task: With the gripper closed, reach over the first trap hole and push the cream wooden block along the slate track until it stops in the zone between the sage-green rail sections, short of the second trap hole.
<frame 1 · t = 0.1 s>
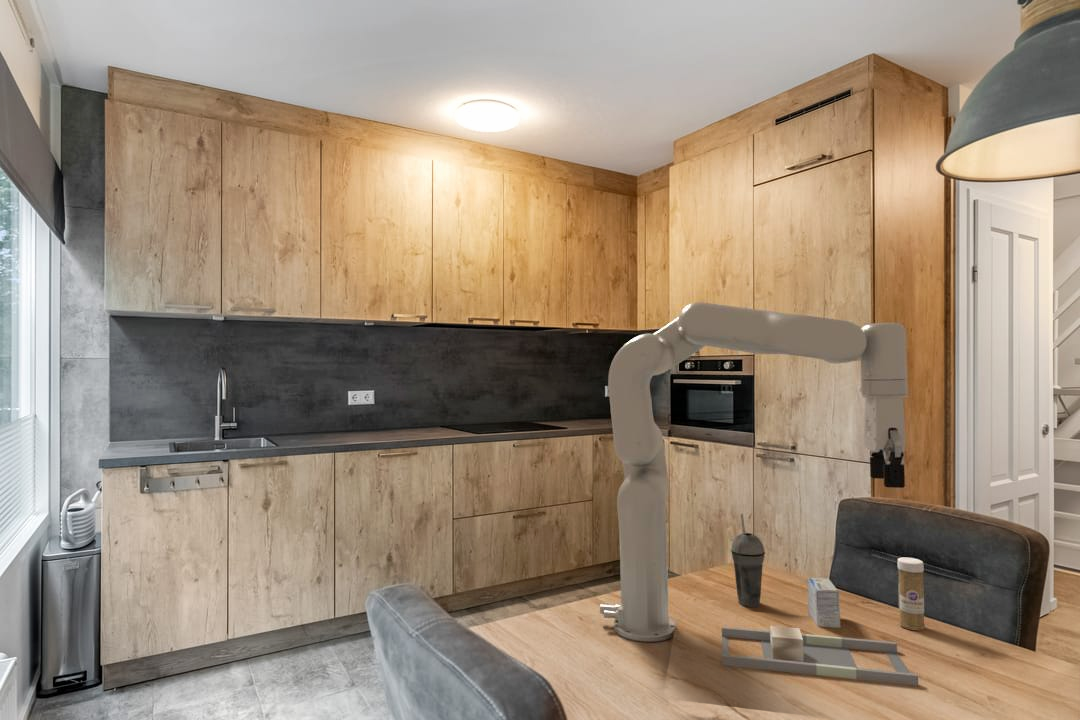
hand: (886, 482, 115), 31 cm above the table, tool pointing down, fingers open, 9 cm apart
medicine box: (824, 627, 127), on the table
cream block: (786, 655, 111), point 1 cm above the table, touching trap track
sprinkles bottle: (912, 627, 126), on the table
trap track: (811, 666, 110), on the table
beverage cup: (749, 604, 140), on the table
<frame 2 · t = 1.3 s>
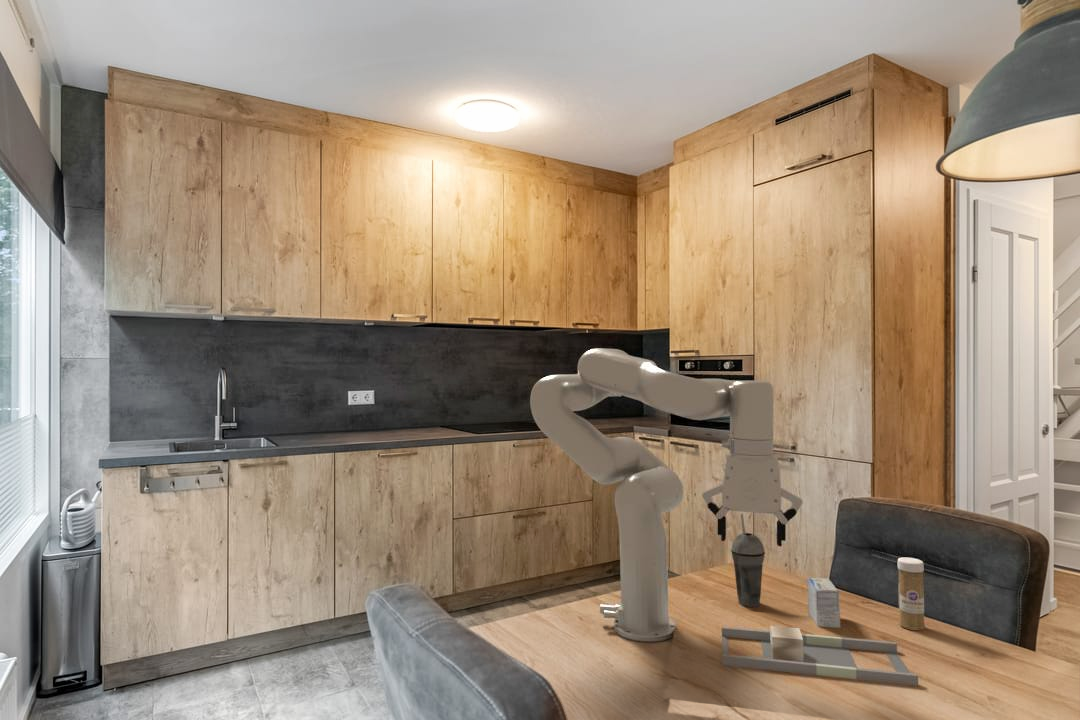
hand: (750, 541, 114), 21 cm above the table, tool pointing down, fingers open, 9 cm apart
nothing on the table moved.
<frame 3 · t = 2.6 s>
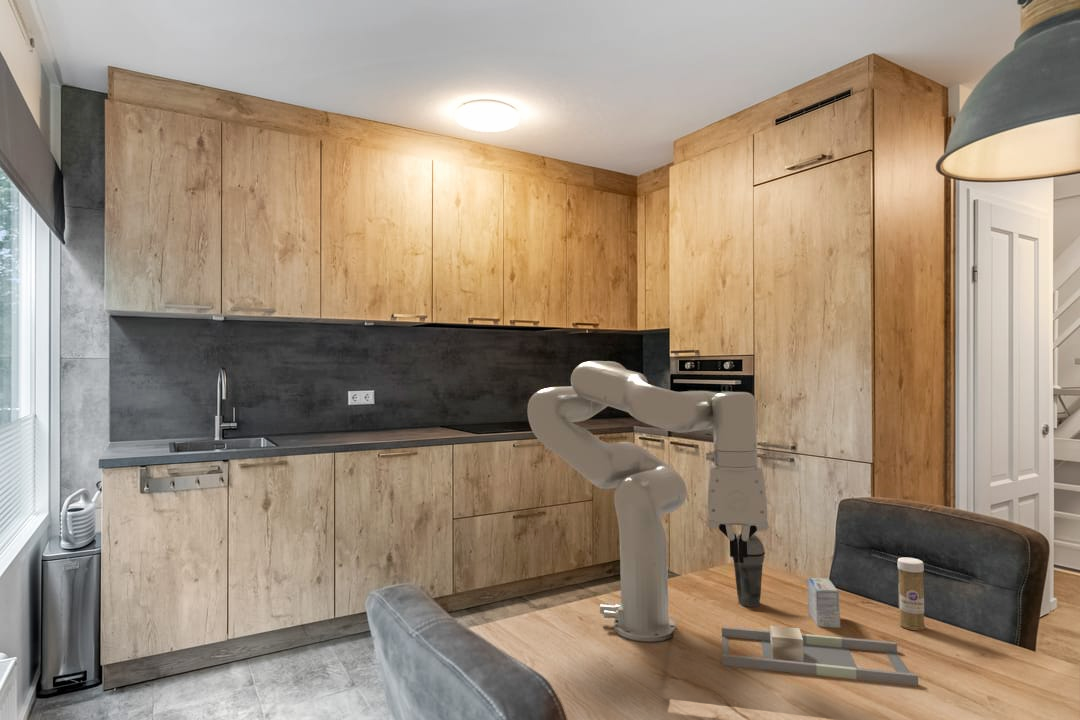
hand: (738, 560, 113), 18 cm above the table, tool pointing down, fingers closed
nothing on the table moved.
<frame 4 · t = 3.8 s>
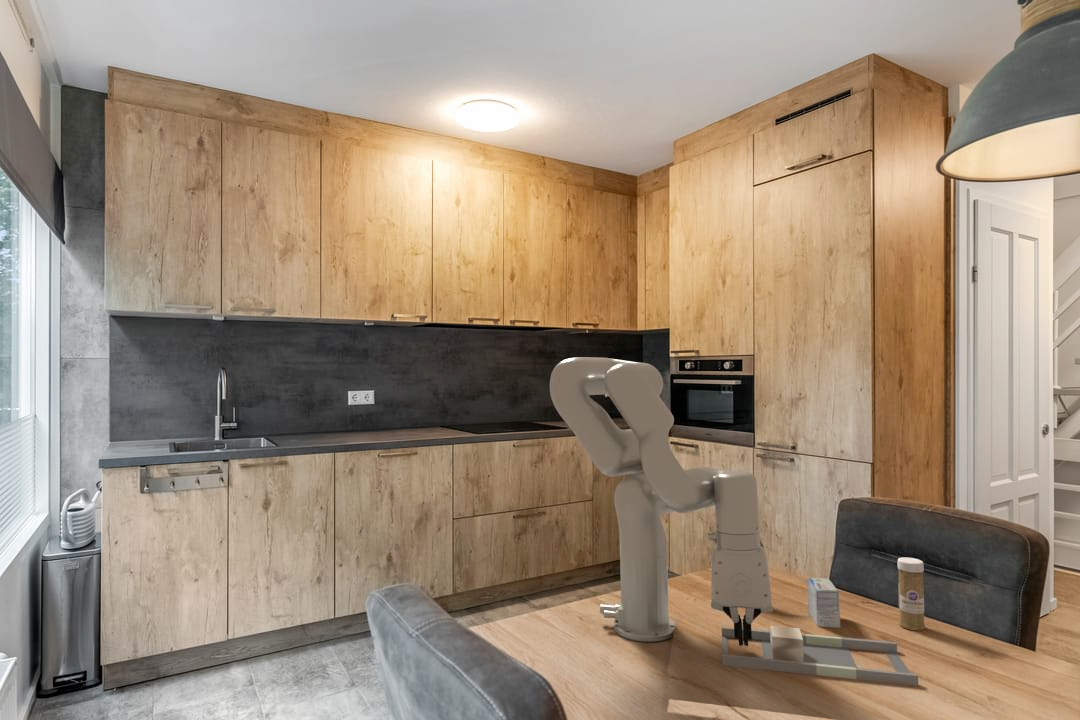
hand: (743, 642, 113), 3 cm above the table, tool pointing down, fingers closed
nothing on the table moved.
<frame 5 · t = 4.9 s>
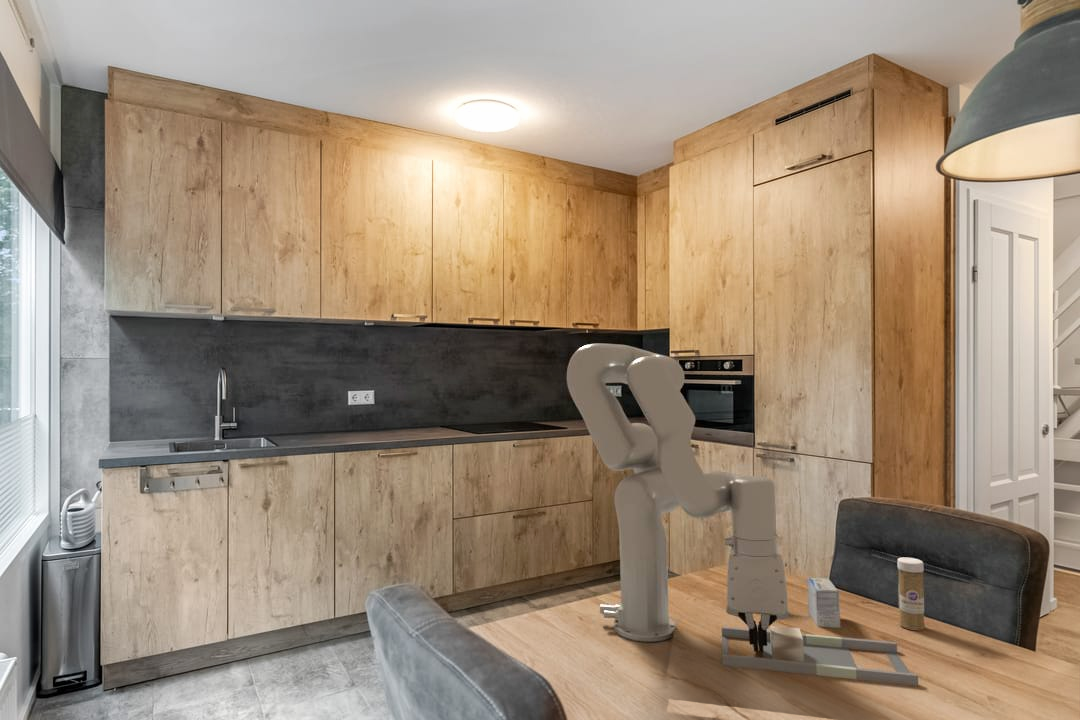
hand: (758, 648, 112), 2 cm above the table, tool pointing down, fingers closed
cream block: (786, 655, 111), point 2 cm above the table, touching gripper, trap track
everything else where it was.
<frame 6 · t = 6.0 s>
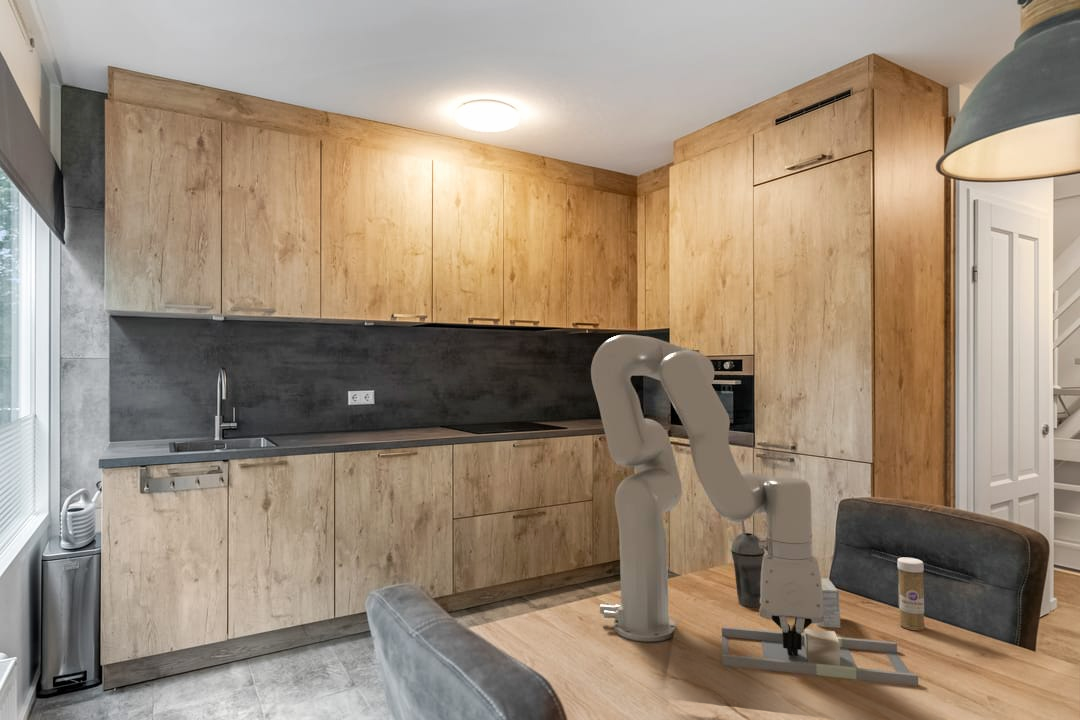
hand: (792, 652, 111), 2 cm above the table, tool pointing down, fingers closed
cream block: (822, 658, 109), point 2 cm above the table, touching gripper, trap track
everything else where it was.
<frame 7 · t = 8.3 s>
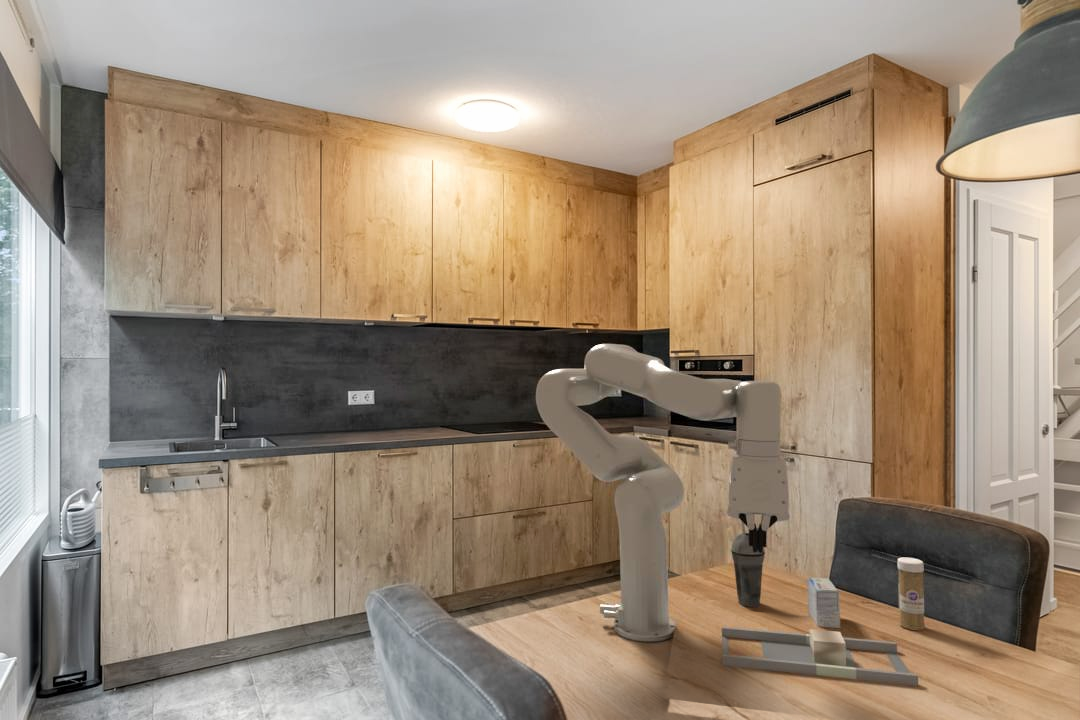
hand: (757, 550, 113), 20 cm above the table, tool pointing down, fingers closed
cream block: (827, 659, 109), point 1 cm above the table, touching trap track
everything else where it was.
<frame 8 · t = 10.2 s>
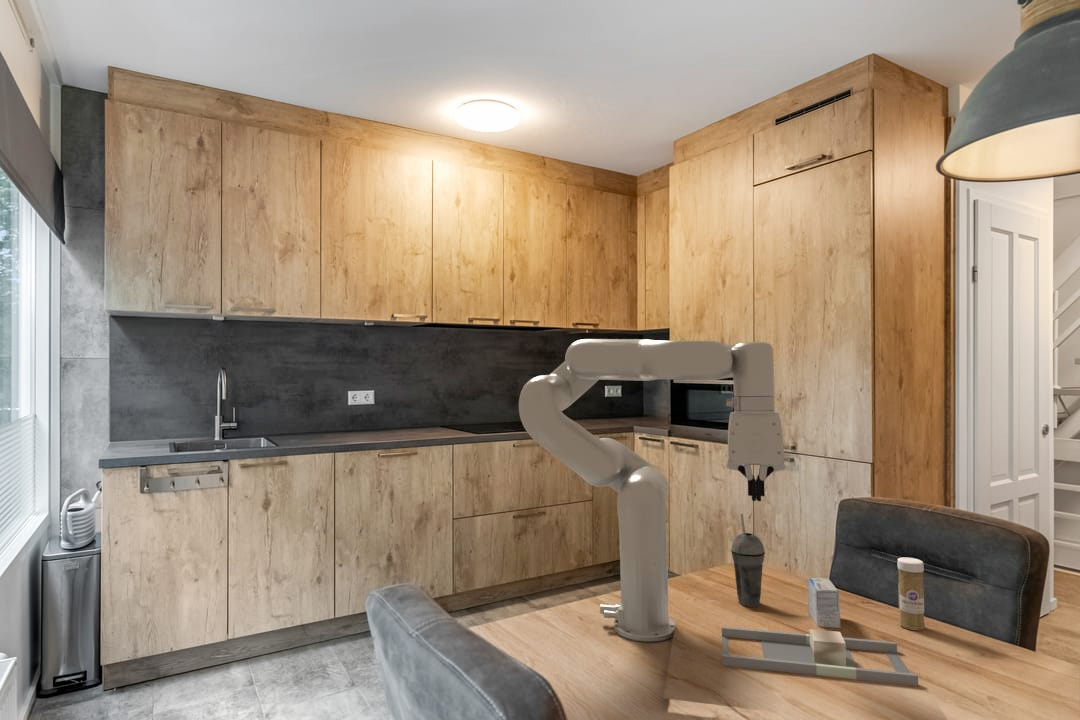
hand: (756, 499, 121), 27 cm above the table, tool pointing down, fingers closed
nothing on the table moved.
at the end: cream block 0.3 cm from the target spot on the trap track, point 1.5 cm above the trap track's base; cream block tilted 0°; cream block moved 6.7 cm from its start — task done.
